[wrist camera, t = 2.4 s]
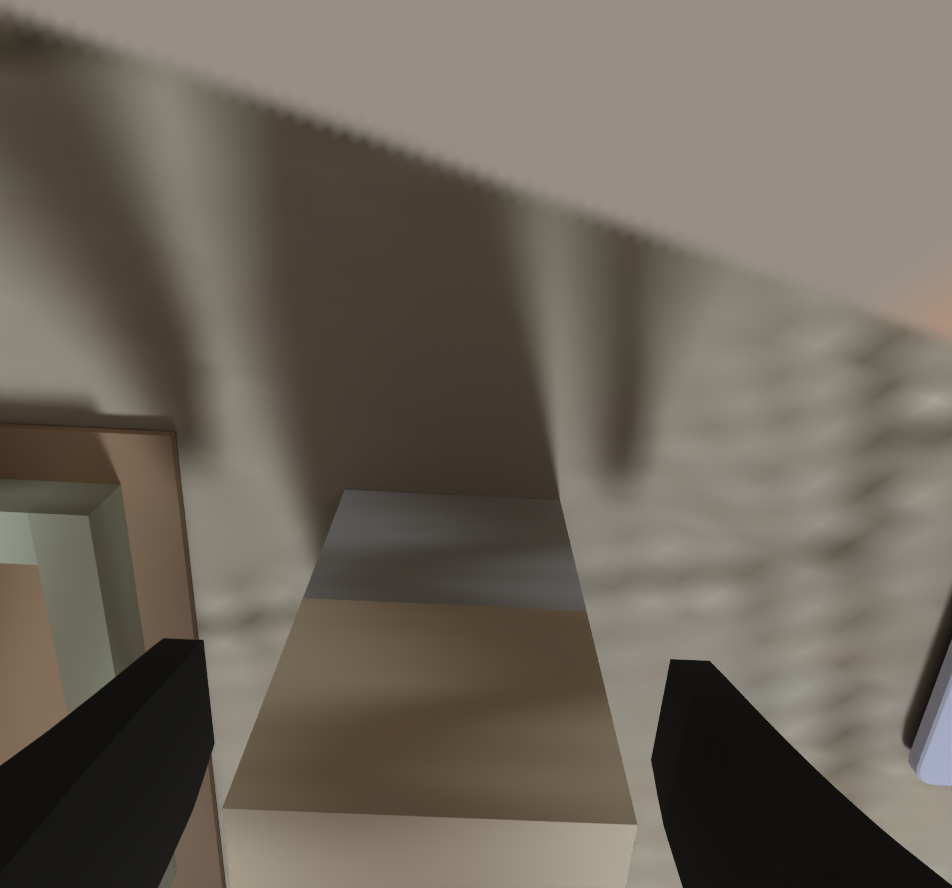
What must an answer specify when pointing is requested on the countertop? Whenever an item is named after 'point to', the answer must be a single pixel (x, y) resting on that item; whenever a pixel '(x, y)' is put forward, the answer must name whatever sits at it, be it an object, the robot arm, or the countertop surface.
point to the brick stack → (435, 712)
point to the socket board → (93, 587)
